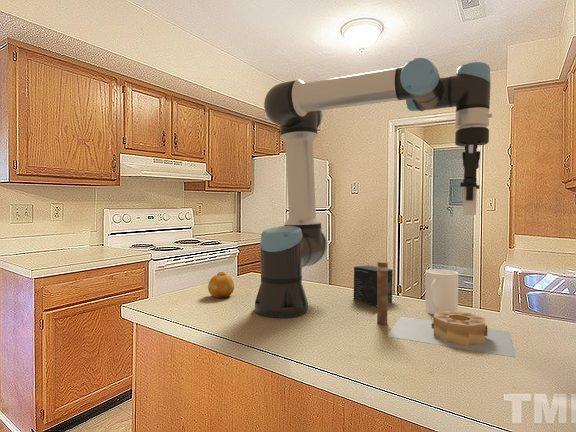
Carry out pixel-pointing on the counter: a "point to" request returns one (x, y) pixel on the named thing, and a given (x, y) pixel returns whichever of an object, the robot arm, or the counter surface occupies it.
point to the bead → (459, 327)
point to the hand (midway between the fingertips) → (469, 214)
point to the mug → (441, 291)
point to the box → (369, 284)
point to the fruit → (221, 285)
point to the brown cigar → (382, 292)
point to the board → (424, 332)
